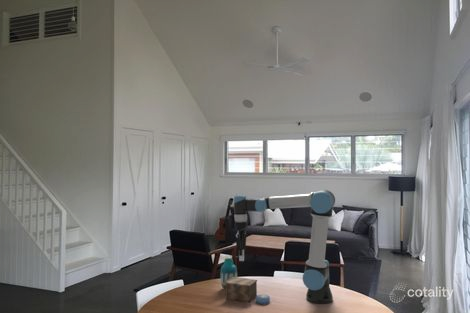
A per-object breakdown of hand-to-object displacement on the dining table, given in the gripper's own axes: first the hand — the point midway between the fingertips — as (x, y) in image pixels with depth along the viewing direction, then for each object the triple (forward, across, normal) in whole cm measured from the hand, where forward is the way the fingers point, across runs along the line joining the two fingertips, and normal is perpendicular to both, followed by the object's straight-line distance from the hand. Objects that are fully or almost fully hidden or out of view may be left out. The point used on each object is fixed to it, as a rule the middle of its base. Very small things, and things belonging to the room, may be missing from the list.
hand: (241, 260), depth 218 cm
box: (+22, 0, -1) cm, 22 cm away
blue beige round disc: (+22, +1, +13) cm, 26 cm away
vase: (+22, -11, -15) cm, 29 cm away
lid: (+15, +1, -1) cm, 15 cm away
